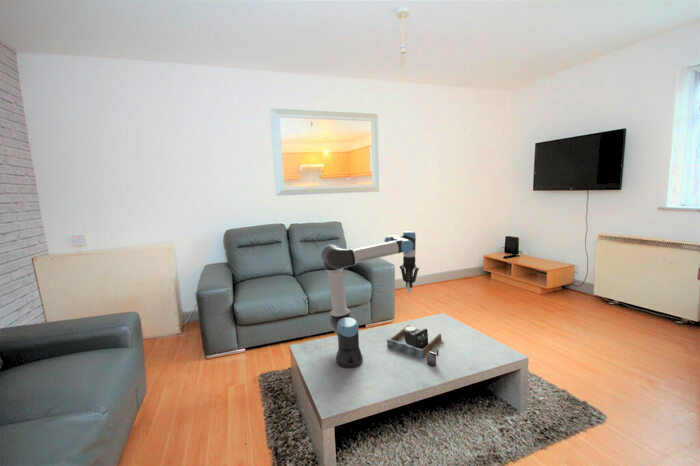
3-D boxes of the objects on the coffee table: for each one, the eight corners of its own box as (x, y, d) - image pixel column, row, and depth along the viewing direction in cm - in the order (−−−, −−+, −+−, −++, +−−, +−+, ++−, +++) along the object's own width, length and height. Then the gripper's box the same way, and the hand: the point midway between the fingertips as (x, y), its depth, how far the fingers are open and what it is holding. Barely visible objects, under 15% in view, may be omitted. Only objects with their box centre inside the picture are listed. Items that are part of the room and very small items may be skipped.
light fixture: (412, 339, 201) (411, 323, 200) (429, 345, 190) (428, 328, 189) (401, 345, 194) (399, 328, 193) (417, 352, 184) (416, 334, 183)
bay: (387, 347, 192) (386, 339, 191) (408, 330, 212) (408, 323, 211) (422, 358, 177) (422, 350, 176) (441, 340, 197) (441, 332, 196)
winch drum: (425, 364, 171) (424, 348, 170) (429, 360, 175) (429, 344, 174) (436, 368, 167) (436, 352, 166) (440, 364, 171) (440, 348, 170)
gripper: (397, 255, 198) (397, 292, 201) (415, 258, 189) (415, 296, 193) (403, 253, 203) (403, 289, 207) (421, 256, 195) (421, 292, 198)
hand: (409, 292), depth 200 cm, fingers closed
